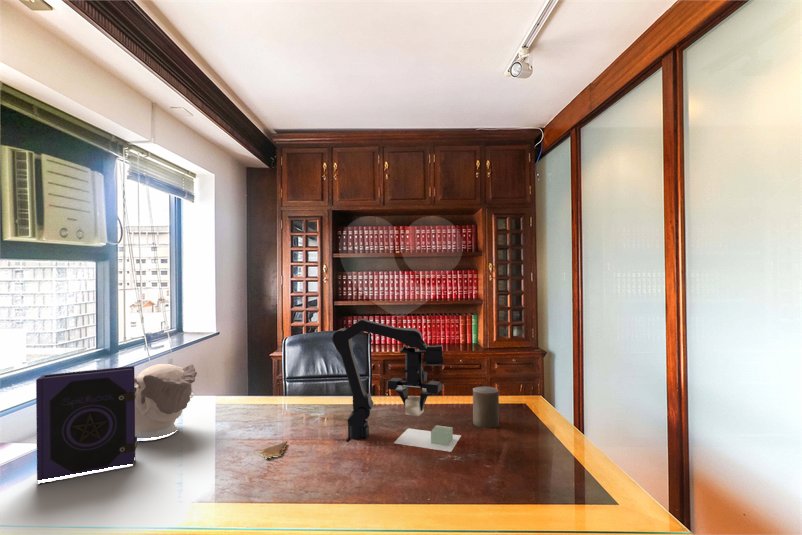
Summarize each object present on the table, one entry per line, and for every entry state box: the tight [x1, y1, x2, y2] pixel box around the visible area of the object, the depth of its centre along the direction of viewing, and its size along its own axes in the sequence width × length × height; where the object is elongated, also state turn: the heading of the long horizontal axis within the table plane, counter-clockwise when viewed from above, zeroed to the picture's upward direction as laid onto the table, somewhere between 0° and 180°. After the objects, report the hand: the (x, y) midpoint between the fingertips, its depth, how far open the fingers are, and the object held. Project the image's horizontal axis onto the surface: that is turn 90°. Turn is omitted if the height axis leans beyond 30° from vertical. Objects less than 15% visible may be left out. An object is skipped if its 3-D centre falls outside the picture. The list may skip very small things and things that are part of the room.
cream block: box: [404, 395, 425, 417], centre depth 147 cm, size 5×5×5 cm
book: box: [35, 365, 138, 481], centre depth 127 cm, size 24×6×30 cm, turn 117°
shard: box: [257, 441, 288, 458], centre depth 138 cm, size 11×8×2 cm
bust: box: [135, 363, 198, 438], centre depth 156 cm, size 26×20×30 cm
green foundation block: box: [431, 425, 454, 446], centre depth 143 cm, size 6×6×4 cm
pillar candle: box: [472, 386, 500, 429], centre depth 160 cm, size 10×10×15 cm
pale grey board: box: [393, 427, 462, 453], centre depth 145 cm, size 20×14×1 cm
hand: (414, 409), depth 147 cm, fingers closed on cream block, 5 cm apart
